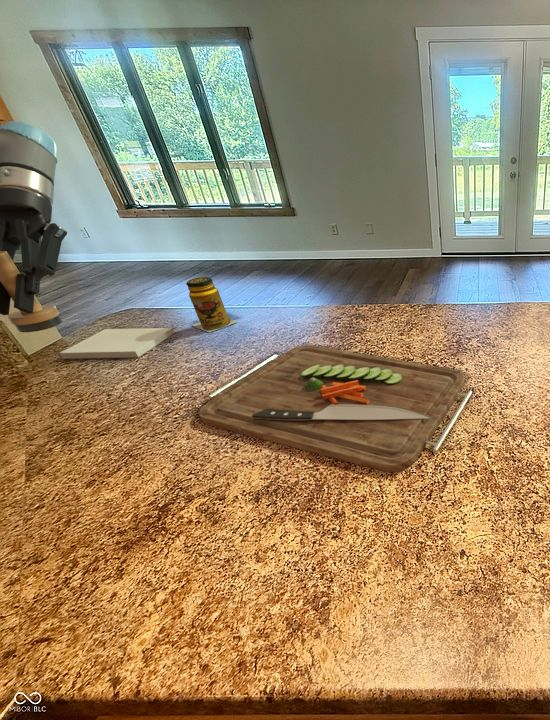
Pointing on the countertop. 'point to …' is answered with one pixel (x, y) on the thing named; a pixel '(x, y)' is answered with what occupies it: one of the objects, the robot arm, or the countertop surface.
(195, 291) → the condiment
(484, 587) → the countertop surface
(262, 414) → the chopping board
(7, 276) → the brush
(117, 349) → the tile
